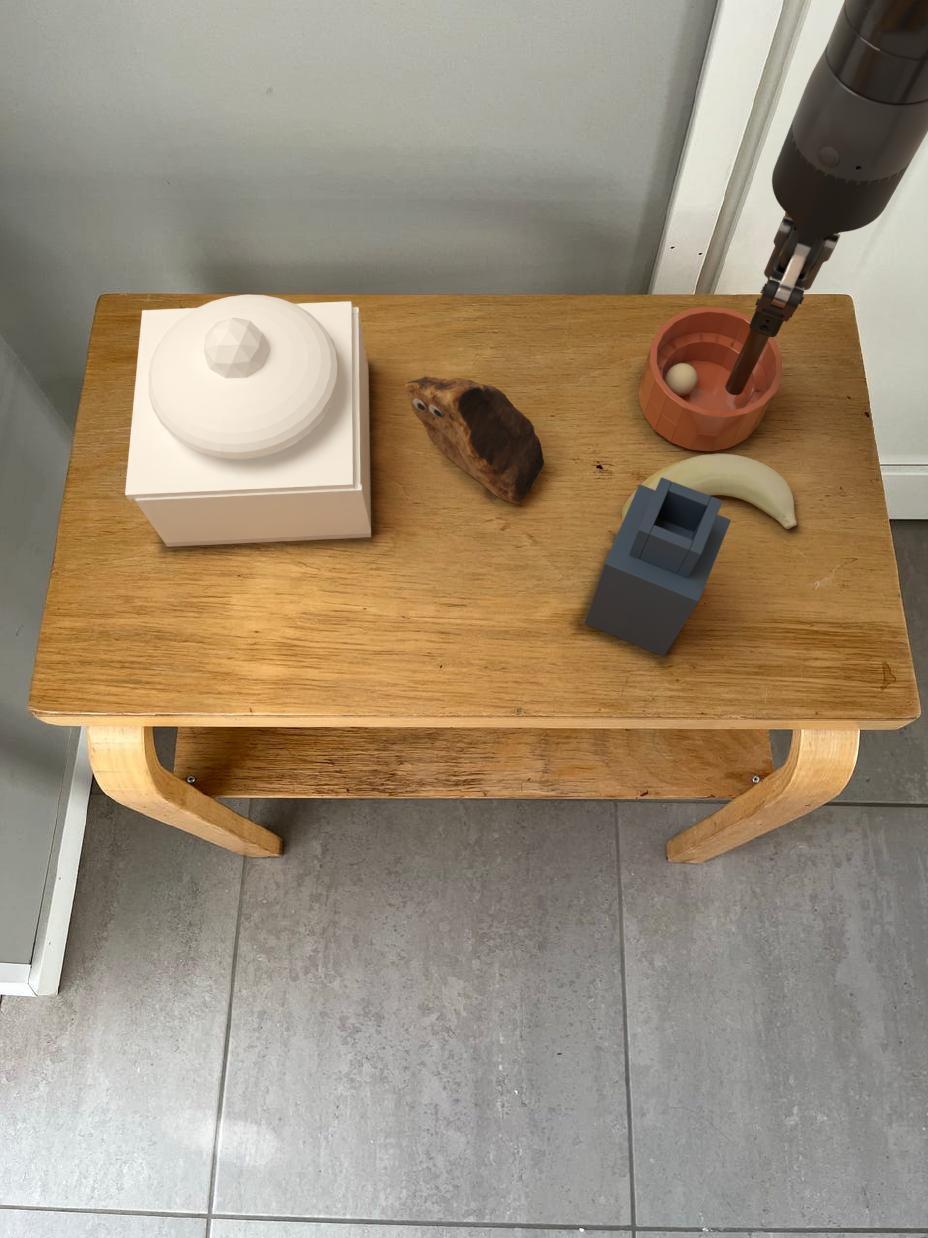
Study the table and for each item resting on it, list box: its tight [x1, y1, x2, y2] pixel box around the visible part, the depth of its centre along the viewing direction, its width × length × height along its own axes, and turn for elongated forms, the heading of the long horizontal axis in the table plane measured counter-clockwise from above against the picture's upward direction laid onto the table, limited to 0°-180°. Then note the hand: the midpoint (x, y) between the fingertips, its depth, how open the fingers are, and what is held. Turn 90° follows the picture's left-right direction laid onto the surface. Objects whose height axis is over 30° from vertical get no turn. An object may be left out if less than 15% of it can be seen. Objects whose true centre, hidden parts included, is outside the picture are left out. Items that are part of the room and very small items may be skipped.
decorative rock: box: [404, 375, 545, 505], centre depth 76 cm, size 12×6×11 cm, turn 52°
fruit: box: [621, 453, 797, 530], centre depth 78 cm, size 7×15×3 cm, turn 97°
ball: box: [665, 363, 698, 396], centre depth 82 cm, size 3×3×3 cm
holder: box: [583, 477, 731, 657], centre depth 68 cm, size 7×7×16 cm
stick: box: [725, 329, 769, 395], centre depth 73 cm, size 2×2×14 cm
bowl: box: [638, 306, 784, 452], centre depth 80 cm, size 11×11×6 cm
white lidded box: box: [124, 294, 372, 548], centre depth 74 cm, size 18×18×16 cm
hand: (767, 319), depth 71 cm, fingers closed on stick, 1 cm apart
